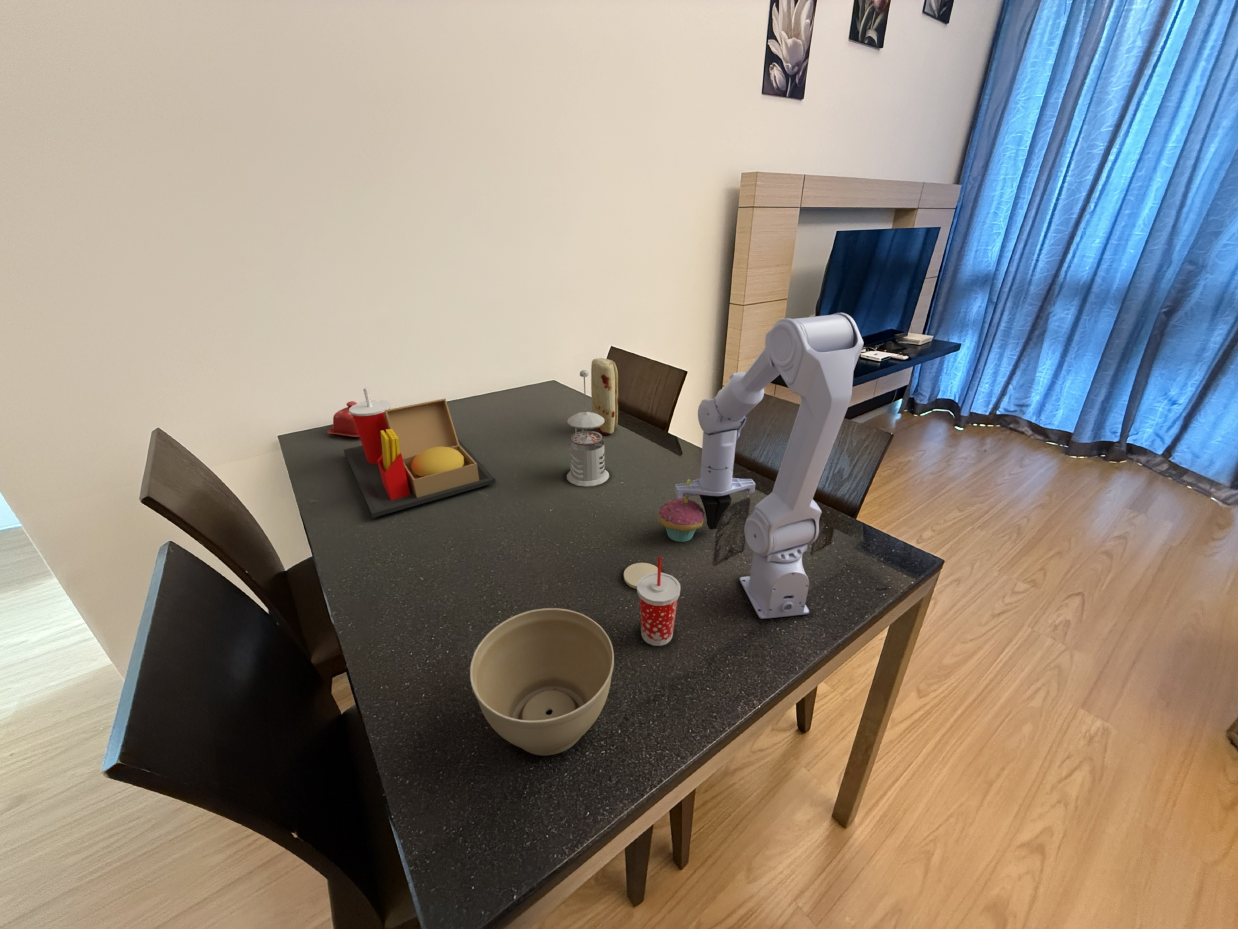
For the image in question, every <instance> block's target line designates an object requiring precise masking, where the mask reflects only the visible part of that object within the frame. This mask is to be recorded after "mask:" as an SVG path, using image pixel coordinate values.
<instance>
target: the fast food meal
mask: <svg viewBox="0 0 1238 929" xmlns="http://www.w3.org/2000/svg"><path fill="white" fill-rule="evenodd" d="M362 389H363V394H364V398H365V401H362V402H358V403H357V404H355V405H353V406H352V407H350V408H349V412H350V413H351V414H352V417H353V420H354V423H355V426H356V428H357V431H358V434H359V437H358V438H359V439H360V443H361V445H358V446H354V447H350V448H344V449H343V453H344V455H345V458H346V459H347V462H348V464H349V467H350V469H351V471H352V474H353V476H354V478H355V480H356V483H357V486H359V489H360V492H361V495H362V496H363V499H364V501H365V503H366V506H367V507H368V510H369V512H370V514H371V517H372V518H377V517H381V516H385V515H387V514H391V513H395V512H398V511H402V510H405V509H408V508H413V507H416V506H419V505H423V504H426V503H430V502H434V501H437V500H441V499H444V498H447V497H451V496H454V495H457V494H462V493H464V492H468V491H471V490H475V489H479V488H482V487H485V486H489V485H493V484H495V483H496V478H495V477H494V476H493V475H492V474H491V473H490V472H489V470H487V469H486V468H485V467H484V465H483V464H482V463H481V462H480V461H479V460H478V459H477V458H476V457H475V456H474V455H473V453H471V451H470V450H469V449H468V447H466V446H465V445H464V444H463V443H462V441H461V440H460V439H458V435H457V432H456V429H455V426H454V423H453V418H452V415H451V411H450V409H449V406H448V402H447V399H446V398H441V399H436V400H431V401H424V402H419V403H414V404H410V405H405V406H399V407H394V408H391V402H389V401H387V400H383V399H373V400H371V396H370V395H371V394H370V393H369V392H370V391H369V388H368V387H363V388H362Z"/></svg>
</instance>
